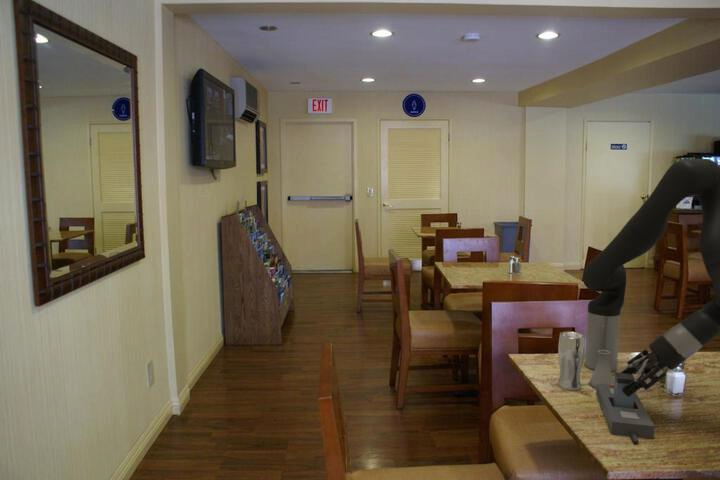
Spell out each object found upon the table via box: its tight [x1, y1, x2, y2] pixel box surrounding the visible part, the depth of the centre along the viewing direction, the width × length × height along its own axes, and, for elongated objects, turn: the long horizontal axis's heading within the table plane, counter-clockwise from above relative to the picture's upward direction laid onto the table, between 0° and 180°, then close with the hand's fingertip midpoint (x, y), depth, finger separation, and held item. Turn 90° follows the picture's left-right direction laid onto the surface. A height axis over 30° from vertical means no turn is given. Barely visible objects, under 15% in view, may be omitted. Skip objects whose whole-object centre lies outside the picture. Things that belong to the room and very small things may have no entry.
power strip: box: [595, 383, 655, 445], centre depth 141 cm, size 28×9×4 cm, turn 166°
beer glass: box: [557, 331, 586, 391], centre depth 160 cm, size 7×7×15 cm
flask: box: [588, 350, 615, 389], centre depth 161 cm, size 7×7×10 cm
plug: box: [613, 372, 636, 409], centre depth 143 cm, size 4×4×10 cm
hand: (621, 386), depth 143 cm, fingers open, 8 cm apart
